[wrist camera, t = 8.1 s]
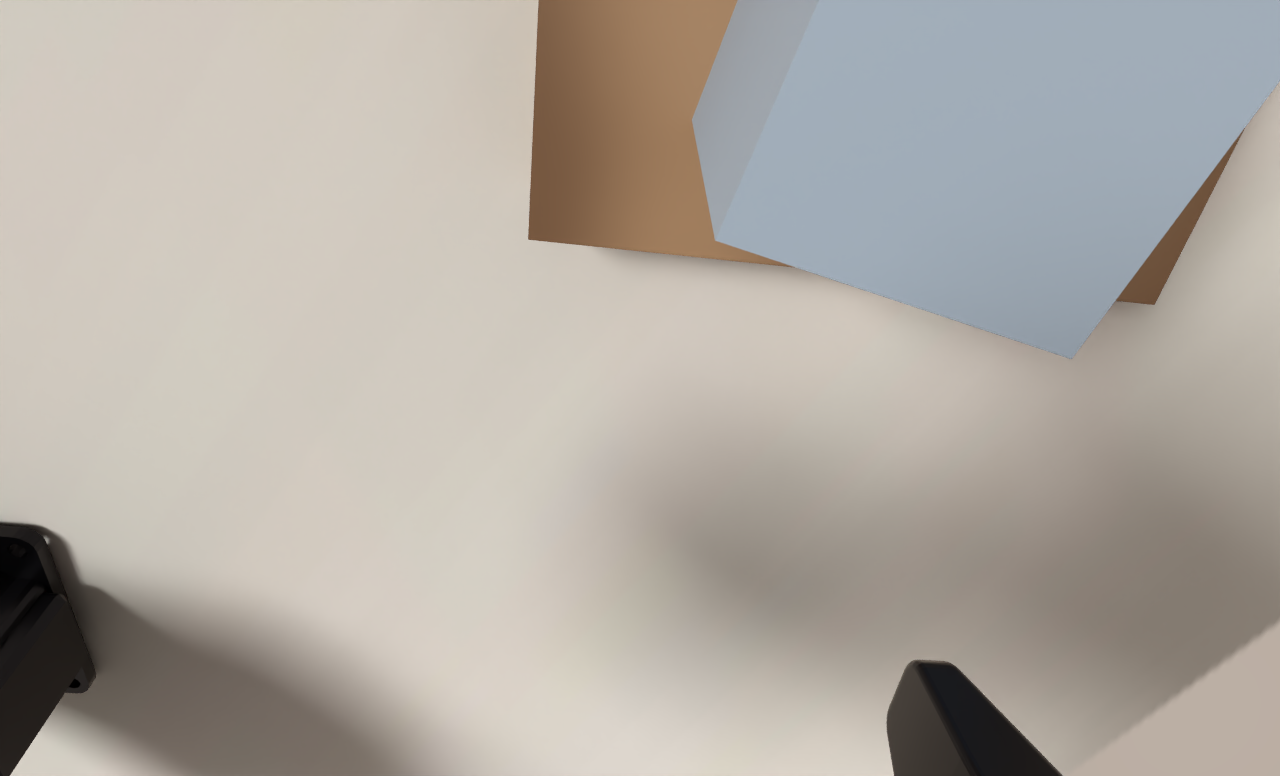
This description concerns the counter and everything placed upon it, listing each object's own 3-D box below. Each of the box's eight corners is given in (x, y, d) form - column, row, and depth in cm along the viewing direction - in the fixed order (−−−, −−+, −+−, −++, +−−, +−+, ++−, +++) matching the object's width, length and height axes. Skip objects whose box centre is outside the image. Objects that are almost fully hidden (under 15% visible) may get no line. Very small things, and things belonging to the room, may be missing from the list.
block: (691, 119, 14) (715, 240, 10) (824, -227, 12) (931, -261, 7) (951, 213, 15) (1071, 358, 11) (1127, -88, 12) (1375, -49, 8)
